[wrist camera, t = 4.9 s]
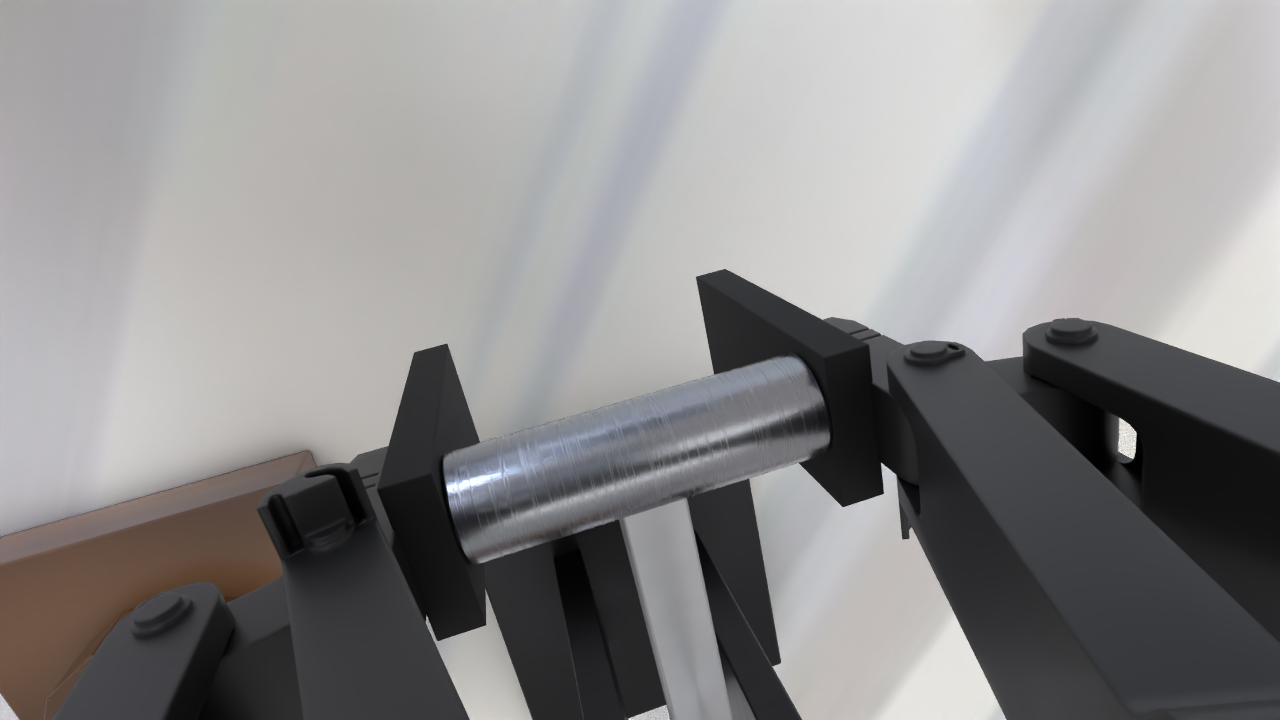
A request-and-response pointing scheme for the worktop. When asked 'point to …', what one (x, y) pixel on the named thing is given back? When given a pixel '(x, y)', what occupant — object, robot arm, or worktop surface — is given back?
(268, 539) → the button box
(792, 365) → the tap lever
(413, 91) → the worktop surface
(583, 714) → the black lever stand
